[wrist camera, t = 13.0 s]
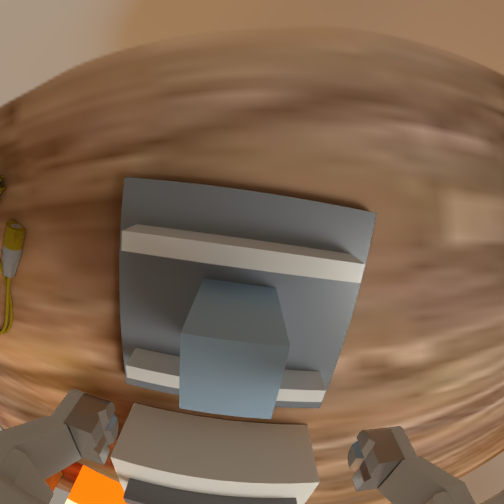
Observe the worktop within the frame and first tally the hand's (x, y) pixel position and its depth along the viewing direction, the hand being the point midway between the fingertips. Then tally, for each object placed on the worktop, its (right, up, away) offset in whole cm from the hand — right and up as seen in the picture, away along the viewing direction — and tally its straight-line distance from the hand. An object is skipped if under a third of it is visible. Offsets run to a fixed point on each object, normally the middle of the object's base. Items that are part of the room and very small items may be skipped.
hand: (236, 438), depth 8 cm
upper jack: (-3, -14, +14) cm, 20 cm away
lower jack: (-1, +2, +10) cm, 10 cm away
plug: (-1, +2, +9) cm, 9 cm away
